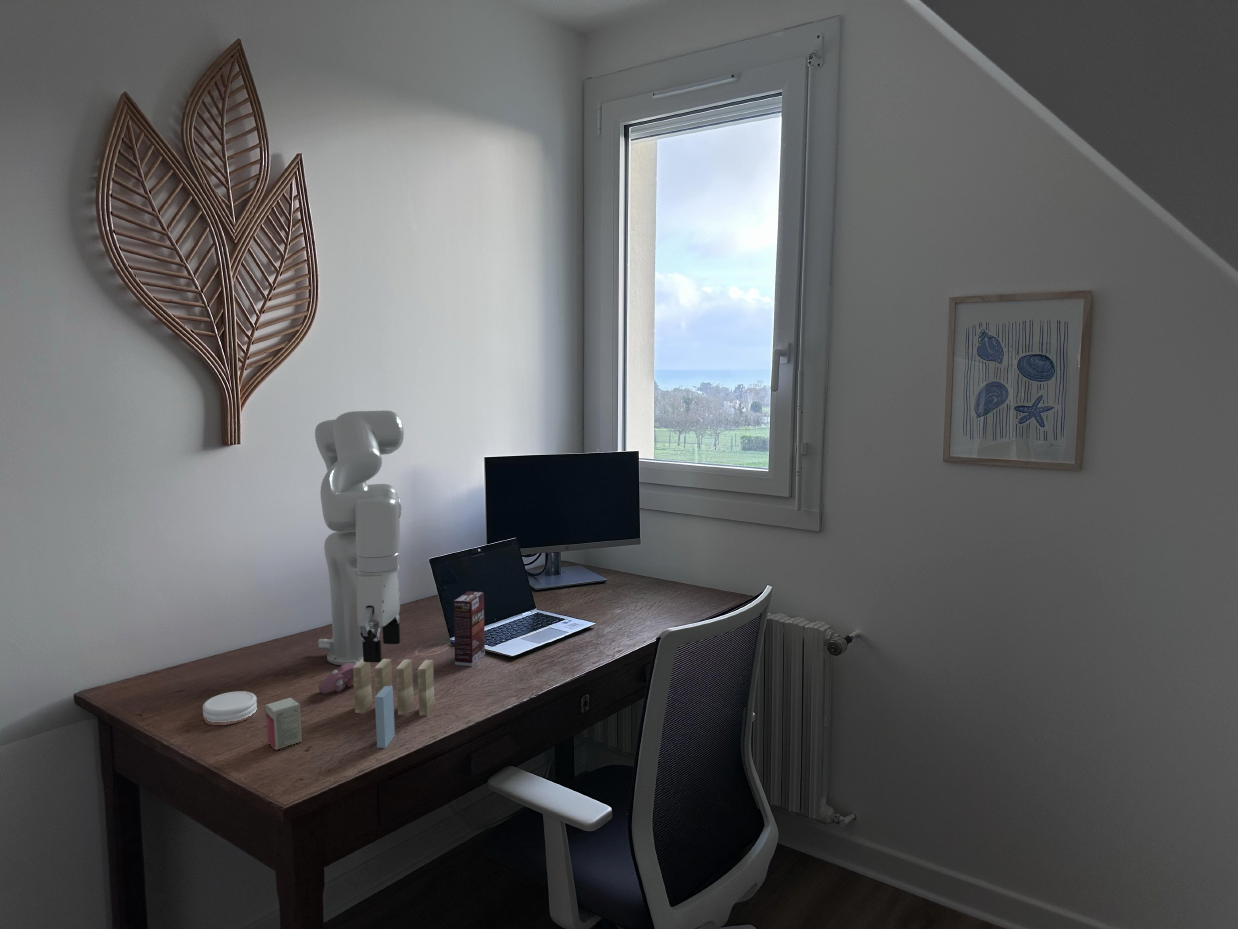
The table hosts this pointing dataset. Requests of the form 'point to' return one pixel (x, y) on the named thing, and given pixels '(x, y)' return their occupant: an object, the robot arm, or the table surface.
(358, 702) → the domino
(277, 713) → the small box
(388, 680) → the domino
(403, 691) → the domino
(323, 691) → the pink toy car
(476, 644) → the supplement box
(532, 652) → the table surface
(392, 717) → the end domino
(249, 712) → the white round lid
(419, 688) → the domino
